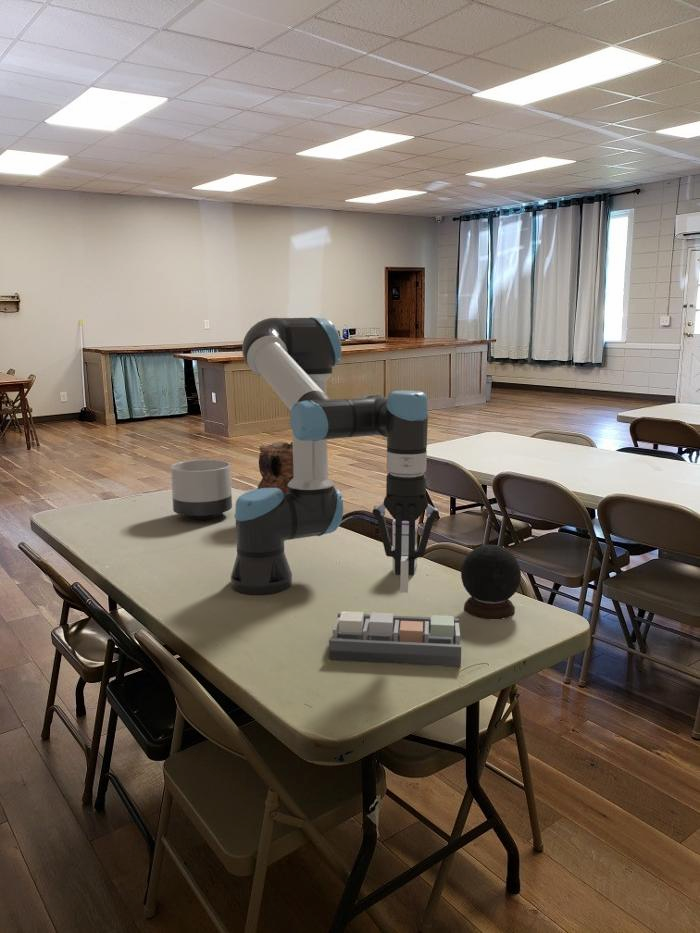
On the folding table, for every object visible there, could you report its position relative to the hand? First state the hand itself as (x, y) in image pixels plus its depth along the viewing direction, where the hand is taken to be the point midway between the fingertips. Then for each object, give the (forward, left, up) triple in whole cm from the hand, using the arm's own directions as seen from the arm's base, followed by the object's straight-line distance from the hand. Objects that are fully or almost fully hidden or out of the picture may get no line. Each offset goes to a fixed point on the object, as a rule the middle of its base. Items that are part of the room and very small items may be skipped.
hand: (404, 589), depth 138 cm
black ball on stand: (+19, +21, -12) cm, 30 cm away
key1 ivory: (-10, 0, -8) cm, 13 cm away
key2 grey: (-4, 0, -8) cm, 9 cm away
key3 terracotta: (+2, 0, -10) cm, 10 cm away
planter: (-70, +89, -12) cm, 114 cm away
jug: (-41, +90, -12) cm, 100 cm away
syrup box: (-1, +44, -12) cm, 45 cm away
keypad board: (-1, -1, -12) cm, 12 cm away
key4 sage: (+8, 0, -8) cm, 11 cm away
